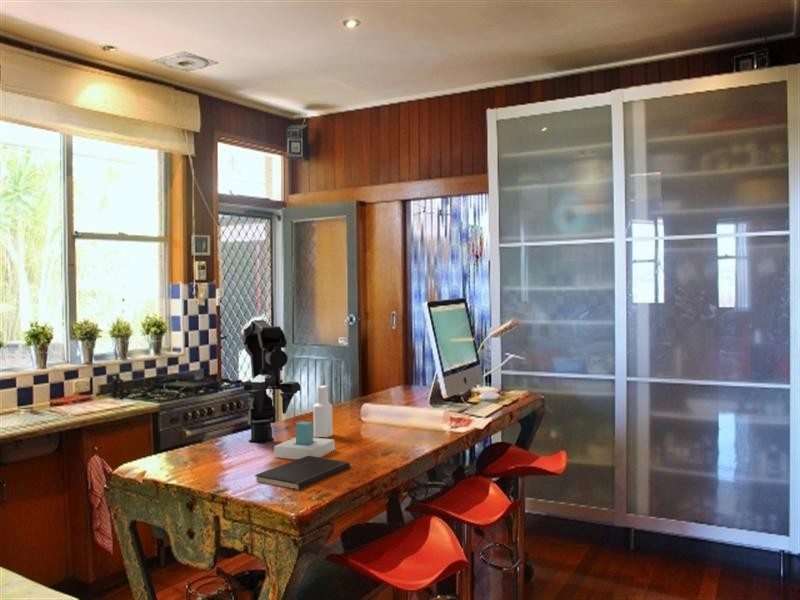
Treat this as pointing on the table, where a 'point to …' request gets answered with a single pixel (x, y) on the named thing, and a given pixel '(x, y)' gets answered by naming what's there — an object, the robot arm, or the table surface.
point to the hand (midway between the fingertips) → (272, 412)
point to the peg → (304, 433)
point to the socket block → (304, 448)
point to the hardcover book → (302, 472)
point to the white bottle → (322, 414)
